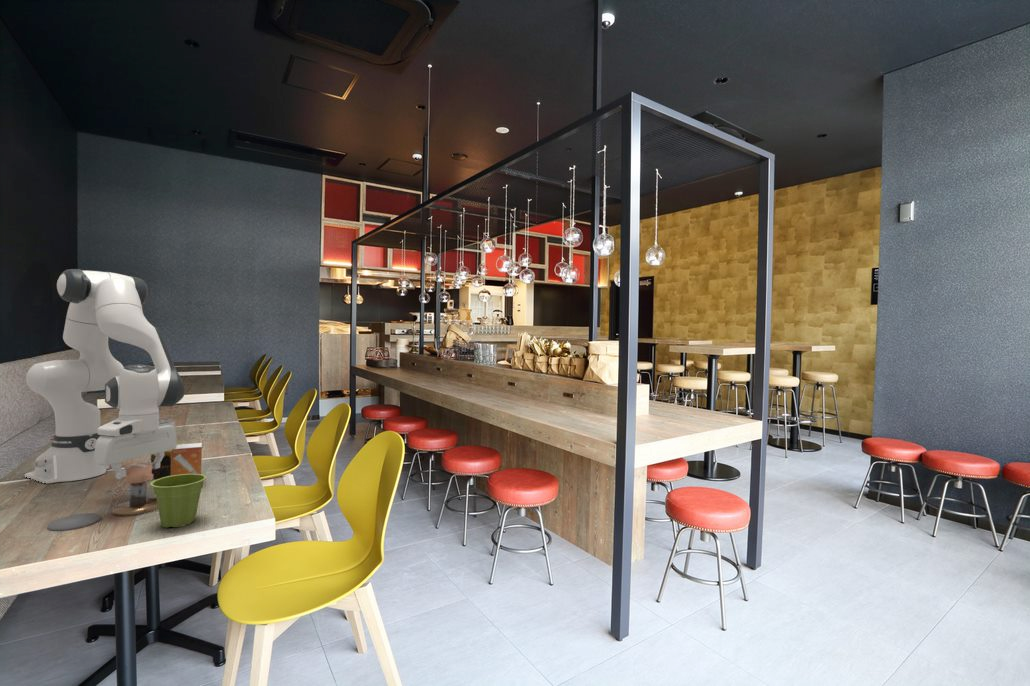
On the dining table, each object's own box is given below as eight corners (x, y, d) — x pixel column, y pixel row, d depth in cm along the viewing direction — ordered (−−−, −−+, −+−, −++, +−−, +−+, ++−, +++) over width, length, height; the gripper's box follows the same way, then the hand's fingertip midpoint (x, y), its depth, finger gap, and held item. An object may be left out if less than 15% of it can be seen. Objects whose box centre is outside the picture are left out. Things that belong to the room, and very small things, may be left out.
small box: (170, 491, 147) (170, 449, 146) (171, 485, 152) (171, 444, 152) (201, 487, 151) (202, 446, 151) (201, 481, 156) (202, 442, 156)
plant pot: (216, 516, 128) (217, 475, 127) (176, 534, 116) (176, 489, 116) (180, 512, 130) (181, 471, 130) (137, 529, 119) (138, 484, 119)
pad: (37, 527, 118) (37, 525, 118) (82, 513, 127) (82, 511, 127) (66, 533, 115) (66, 530, 115) (110, 517, 125) (110, 515, 125)
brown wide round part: (101, 513, 128) (101, 483, 128) (142, 499, 138) (142, 472, 138) (132, 518, 125) (133, 488, 125) (172, 504, 136) (172, 476, 136)
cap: (114, 481, 130) (114, 466, 130) (136, 475, 136) (136, 460, 136) (139, 485, 128) (139, 469, 127) (161, 478, 133) (161, 463, 133)
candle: (170, 482, 155) (170, 451, 155) (148, 478, 158) (148, 448, 158) (199, 473, 165) (200, 445, 164) (178, 470, 168) (179, 442, 168)
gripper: (166, 416, 142) (165, 462, 142) (90, 429, 122) (89, 482, 123) (182, 418, 141) (182, 464, 141) (108, 431, 121) (108, 485, 121)
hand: (138, 473), depth 132 cm, fingers open, 8 cm apart
